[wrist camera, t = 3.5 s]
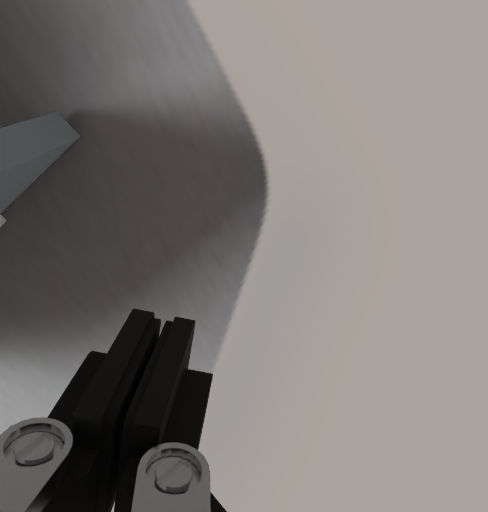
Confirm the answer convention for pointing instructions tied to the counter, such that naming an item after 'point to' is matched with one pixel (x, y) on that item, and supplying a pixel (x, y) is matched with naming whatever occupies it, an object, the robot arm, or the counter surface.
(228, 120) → the counter surface
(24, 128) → the door
